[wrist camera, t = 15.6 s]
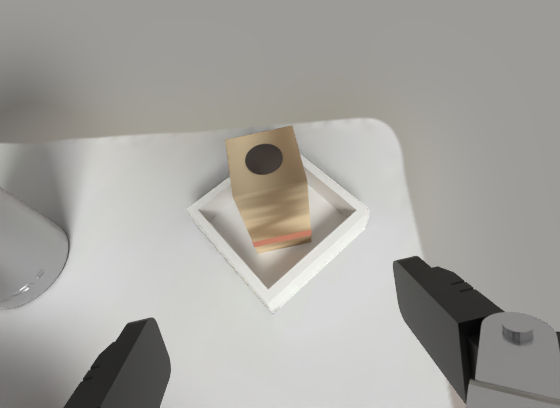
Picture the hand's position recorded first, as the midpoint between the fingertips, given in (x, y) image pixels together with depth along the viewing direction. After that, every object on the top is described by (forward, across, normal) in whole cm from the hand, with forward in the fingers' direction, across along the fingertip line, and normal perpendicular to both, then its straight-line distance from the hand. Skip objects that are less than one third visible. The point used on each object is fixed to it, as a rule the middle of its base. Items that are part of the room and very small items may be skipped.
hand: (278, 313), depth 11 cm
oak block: (+20, -1, +4) cm, 21 cm away
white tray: (+21, 0, +4) cm, 22 cm away
